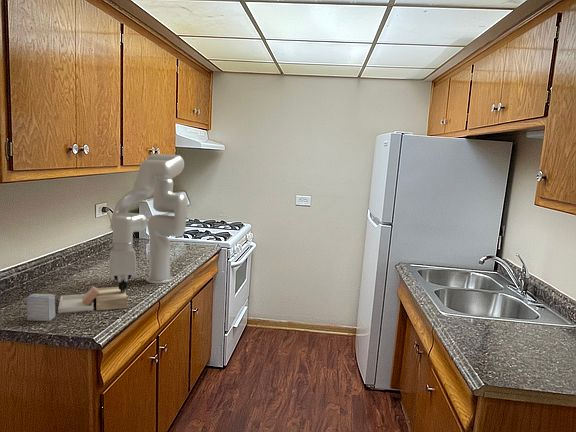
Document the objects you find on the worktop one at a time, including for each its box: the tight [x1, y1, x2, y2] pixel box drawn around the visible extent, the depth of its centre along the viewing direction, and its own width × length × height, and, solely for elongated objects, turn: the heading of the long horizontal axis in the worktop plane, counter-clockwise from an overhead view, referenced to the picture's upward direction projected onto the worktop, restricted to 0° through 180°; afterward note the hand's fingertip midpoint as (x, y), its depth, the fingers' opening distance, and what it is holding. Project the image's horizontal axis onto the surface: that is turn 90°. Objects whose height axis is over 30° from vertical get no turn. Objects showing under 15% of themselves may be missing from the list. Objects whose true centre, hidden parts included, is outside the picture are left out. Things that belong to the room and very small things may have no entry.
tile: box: [82, 285, 99, 306], centre depth 174 cm, size 6×6×2 cm
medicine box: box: [26, 293, 56, 322], centre depth 157 cm, size 8×4×9 cm, turn 92°
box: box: [57, 293, 95, 315], centre depth 173 cm, size 16×12×2 cm
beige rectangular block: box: [95, 286, 128, 311], centre depth 177 cm, size 16×11×4 cm
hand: (122, 290), depth 179 cm, fingers closed
